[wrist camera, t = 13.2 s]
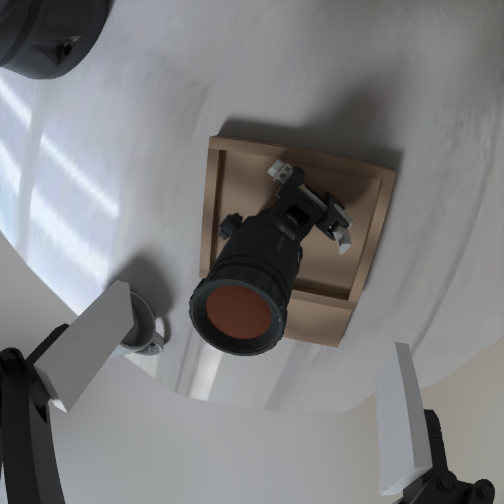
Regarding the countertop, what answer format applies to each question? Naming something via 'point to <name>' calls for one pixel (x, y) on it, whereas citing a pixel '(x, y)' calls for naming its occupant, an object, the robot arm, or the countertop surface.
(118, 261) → the countertop surface
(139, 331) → the ceramic mug
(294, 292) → the wooden tray
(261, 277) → the scope
